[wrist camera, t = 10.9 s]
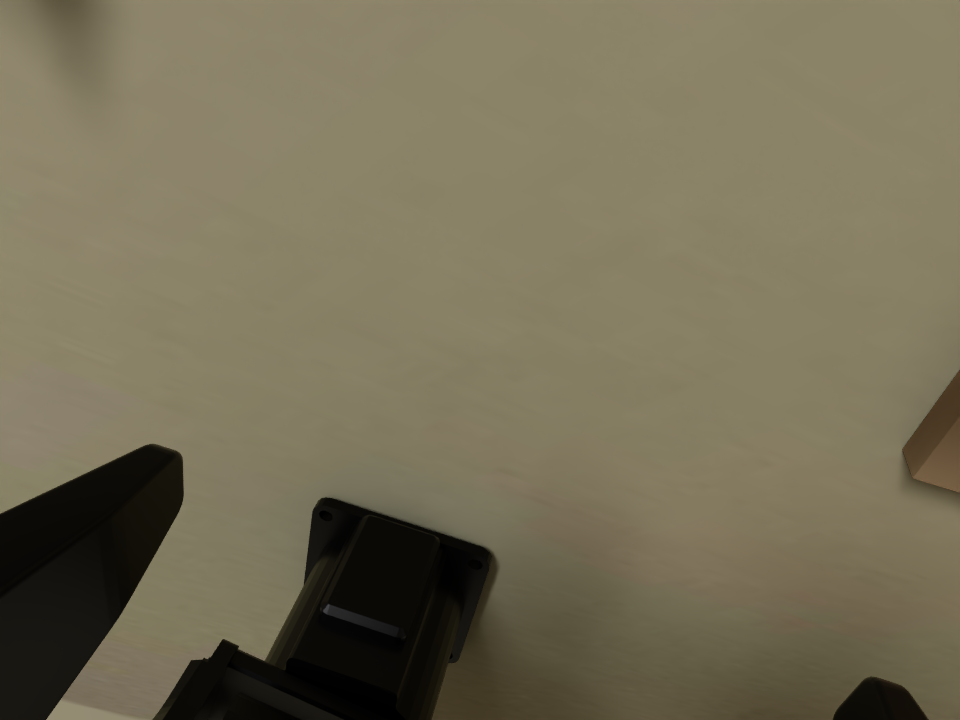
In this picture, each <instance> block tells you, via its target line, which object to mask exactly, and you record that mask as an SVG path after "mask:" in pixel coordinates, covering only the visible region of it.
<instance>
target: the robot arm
mask: <svg viewBox="0 0 960 720" xmlns="http://www.w3.org/2000/svg"><path fill="white" fill-rule="evenodd" d="M183 496H184V487H183V459H182V456H181V454H180V453H179V452H178V451H175V450H172V449H169V448H166V447H163V446H160V445H157V444H149V445H145V446H143V447H140V448H138V449H136V450H134V451H132V452H130V453H128V454H126V455H123V456H121V457H119V458H117V459H115V460H113V461H111V462H109V463H107V464H104V465H102V466H100V467H98V468H96V469H94V470H92V471H90V472H87V473H85V474H83V475H81V476H79V477H77V478H75V479H73V480H71V481H68V482H66V483H64V484H62V485H60V486H58V487H56V488H54V489H52V490H49V491H47V492H45V493H43V494H41V495H39V496H37V497H35V498H32V499H30V500H28V501H26V502H24V503H22V504H20V505H18V506H16V507H13V508H11V509H9V510H7V511H5V512H3V513H1V514H0V720H46V719H47V718H48V716H49V715H50V713H51V712H52V711H53V709H54V708H55V706H56V705H57V704H58V702H59V701H60V699H61V698H62V697H63V695H64V694H65V692H66V691H67V690H68V688H69V687H70V685H71V684H72V683H73V681H74V680H75V678H76V677H77V676H78V674H79V673H80V672H81V670H82V669H83V667H84V666H85V665H86V663H87V662H88V660H89V659H90V658H91V656H92V655H93V653H94V652H95V651H96V649H97V648H98V646H99V645H100V644H101V642H102V641H103V639H104V638H105V637H106V635H107V634H108V632H109V631H110V629H111V628H112V627H113V625H114V624H115V622H116V621H117V619H118V618H119V616H120V615H121V613H122V612H123V610H124V608H125V606H126V605H127V603H128V601H129V600H130V598H131V596H132V595H133V593H134V591H135V589H136V587H137V586H138V584H139V582H140V580H141V579H142V577H143V575H144V573H145V571H146V570H147V568H148V566H149V564H150V563H151V561H152V559H153V557H154V555H155V554H156V552H157V550H158V548H159V546H160V545H161V543H162V541H163V539H164V538H165V536H166V534H167V532H168V530H169V529H170V527H171V525H172V523H173V522H174V520H175V518H176V516H177V514H178V512H179V510H180V508H181V505H182V502H183ZM327 511H328V512H327ZM329 512H330V513H329ZM491 558H492V556H491V554H490V552H488V551H487V550H486V549H485V548H483V547H480V546H477V545H474V544H471V543H468V542H465V541H462V540H459V539H456V538H452V537H449V536H446V535H443V534H440V533H437V532H434V531H431V530H428V529H425V528H422V527H418V526H415V525H412V524H409V523H406V522H403V521H400V520H397V519H394V518H391V517H388V516H384V515H381V514H378V513H375V512H372V511H369V510H366V509H363V508H360V507H357V506H354V505H350V504H347V503H344V502H341V501H338V500H335V499H332V498H321V499H320V500H318V502H317V504H316V506H315V507H314V510H313V512H312V521H311V529H310V537H309V546H308V554H307V562H306V571H305V579H304V586H303V588H302V590H301V592H300V594H299V596H298V598H297V600H296V602H295V604H294V606H293V608H292V609H291V611H290V613H289V615H288V617H287V619H286V621H285V623H284V625H283V627H282V629H281V631H280V633H279V634H278V636H277V638H276V640H275V642H274V644H273V646H272V648H271V650H270V652H269V654H268V656H267V657H266V659H265V661H263V660H261V659H259V658H256V657H254V656H252V655H250V654H248V653H245V652H243V651H241V650H239V649H238V648H239V646H238V645H236V644H233V643H231V642H229V641H227V640H225V639H223V640H222V641H221V643H220V644H219V646H218V647H217V649H216V650H215V652H214V653H213V655H212V656H211V657H209V659H205V658H203V660H191V661H190V663H189V665H188V666H187V668H186V670H185V671H184V673H183V675H182V676H181V678H180V679H179V681H178V683H177V684H176V686H175V688H174V689H173V691H172V692H171V694H170V696H169V697H168V699H167V700H166V702H165V703H164V705H163V706H162V708H161V709H160V710H159V712H158V713H157V715H156V716H155V717H154V718H153V720H431V719H432V716H433V713H434V709H435V706H436V702H437V699H438V696H439V692H440V689H441V685H442V682H443V679H444V675H445V672H446V668H447V665H448V663H455V662H457V661H458V659H459V657H460V654H461V651H462V648H463V645H464V642H465V639H466V636H467V633H468V630H469V627H470V624H471V621H472V618H473V615H474V612H475V609H476V606H477V603H478V600H479V597H480V594H481V591H482V588H483V585H484V582H485V580H486V577H487V574H488V571H489V567H490V564H491ZM474 559H475V560H474ZM476 560H478V561H476ZM833 720H929V719H928V718H927V717H926V715H925V714H924V712H923V711H922V710H921V708H920V707H919V705H918V704H917V703H916V701H915V700H914V698H913V697H912V696H911V694H910V693H909V692H908V691H907V690H906V689H905V688H904V687H902V686H901V685H898V684H896V683H893V682H889V681H886V680H883V679H880V678H877V677H872V676H871V677H868V678H865V679H864V680H863V681H862V682H861V683H860V684H859V685H858V686H857V687H856V689H855V690H854V691H853V692H852V693H851V694H850V695H849V696H848V698H847V699H846V700H845V701H844V702H843V703H842V704H841V705H840V706H839V708H838V709H837V711H836V713H835V715H834V718H833Z"/></svg>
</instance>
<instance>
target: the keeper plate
mask: <svg viewBox="0 0 960 720" xmlns="http://www.w3.org/2000/svg"><path fill="white" fill-rule="evenodd" d="M902 450H903V453H904V455H905V458H906V461H907V464H908V466H909V469H910V472H911V475H912V477H913V478H914V479H917V480H920V481H923V482H927V483H930V484H933V485H936V486H940V487H943V488H946V489H949V490H953V491H956V492H959V493H960V370H959V372H958V373H957V374H956V376H955V377H954V379H953V380H952V381H951V383H950V384H949V386H948V387H947V388H946V390H945V391H944V392H943V394H942V395H941V397H940V398H939V399H938V401H937V402H936V404H935V405H934V406H933V408H932V409H931V410H930V412H929V413H928V415H927V416H926V417H925V419H924V420H923V422H922V423H921V424H920V426H919V427H918V428H917V430H916V431H915V433H914V434H913V435H912V437H911V438H910V440H909V441H908V442H907V444H906V445H905V446H904V448H903V449H902Z"/></svg>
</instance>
